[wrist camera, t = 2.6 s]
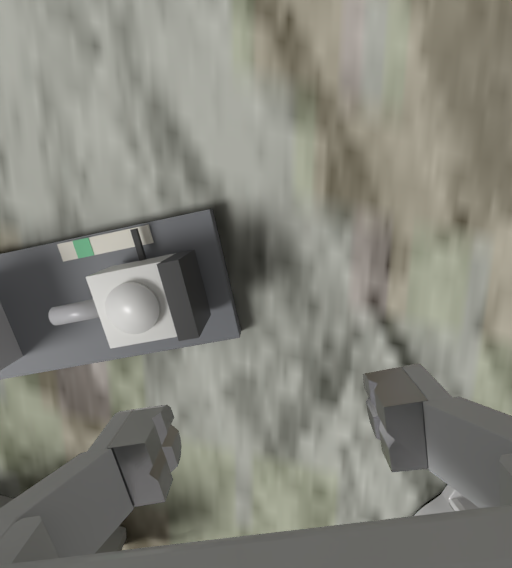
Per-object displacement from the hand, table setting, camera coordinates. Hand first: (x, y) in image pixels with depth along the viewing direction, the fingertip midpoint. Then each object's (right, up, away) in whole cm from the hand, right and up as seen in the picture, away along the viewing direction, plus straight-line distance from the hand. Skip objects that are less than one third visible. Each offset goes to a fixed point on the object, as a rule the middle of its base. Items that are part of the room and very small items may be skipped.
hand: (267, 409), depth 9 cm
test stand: (-15, +2, +22) cm, 27 cm away
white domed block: (-11, +4, +19) cm, 23 cm away
